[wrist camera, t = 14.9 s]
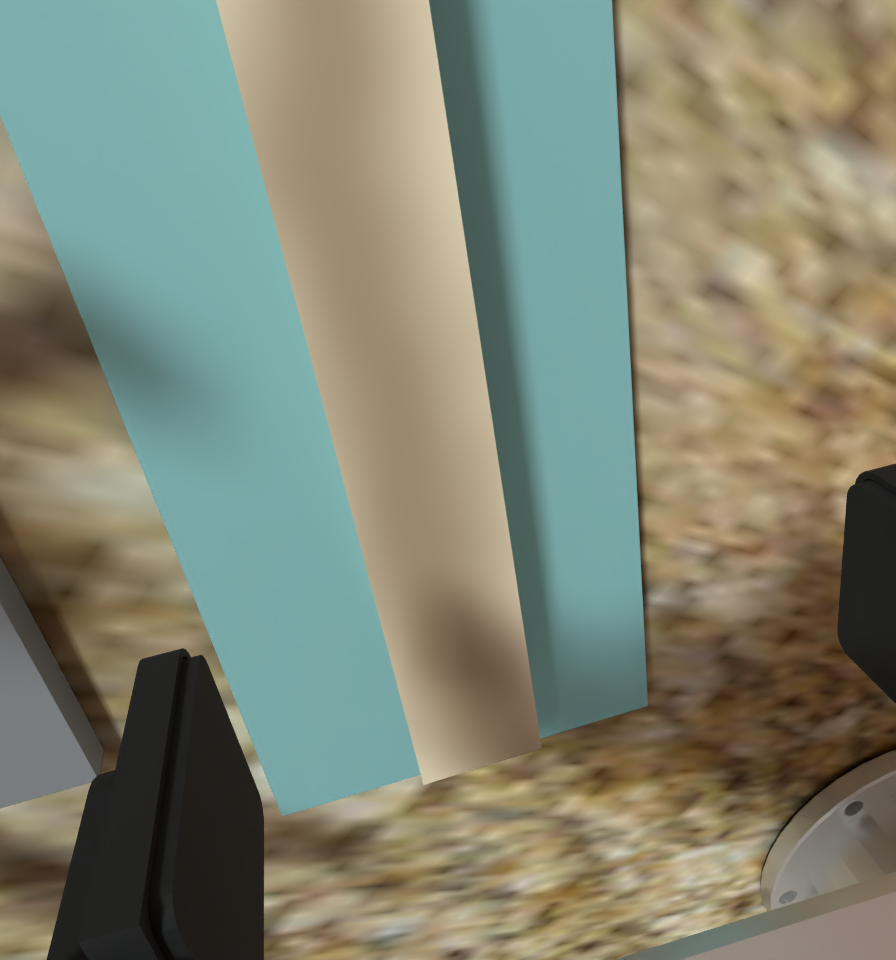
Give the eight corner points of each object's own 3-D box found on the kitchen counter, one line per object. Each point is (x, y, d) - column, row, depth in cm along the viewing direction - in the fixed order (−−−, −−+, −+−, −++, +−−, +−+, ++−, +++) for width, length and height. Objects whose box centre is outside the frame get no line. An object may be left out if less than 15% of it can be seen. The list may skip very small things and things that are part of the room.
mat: (561, -542, 14) (582, -580, 14) (636, 686, 29) (648, 705, 29) (-215, -461, 13) (-246, -497, 12) (280, 792, 28) (281, 816, 27)
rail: (347, -302, 15) (371, -377, 12) (511, 679, 27) (541, 748, 24) (144, -274, 14) (125, -344, 12) (404, 711, 26) (423, 784, 24)
